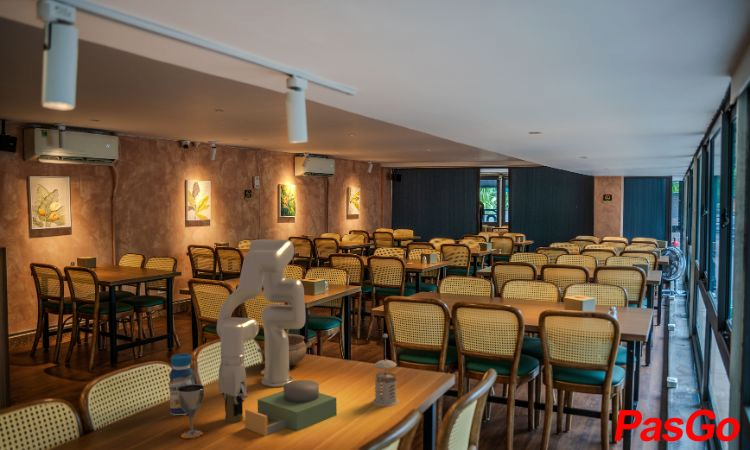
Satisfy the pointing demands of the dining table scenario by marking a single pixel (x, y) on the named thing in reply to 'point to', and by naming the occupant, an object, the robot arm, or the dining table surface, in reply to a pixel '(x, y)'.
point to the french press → (387, 387)
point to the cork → (231, 411)
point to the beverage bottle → (179, 380)
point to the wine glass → (191, 402)
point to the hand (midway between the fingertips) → (233, 412)
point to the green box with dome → (291, 408)
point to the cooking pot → (294, 348)
